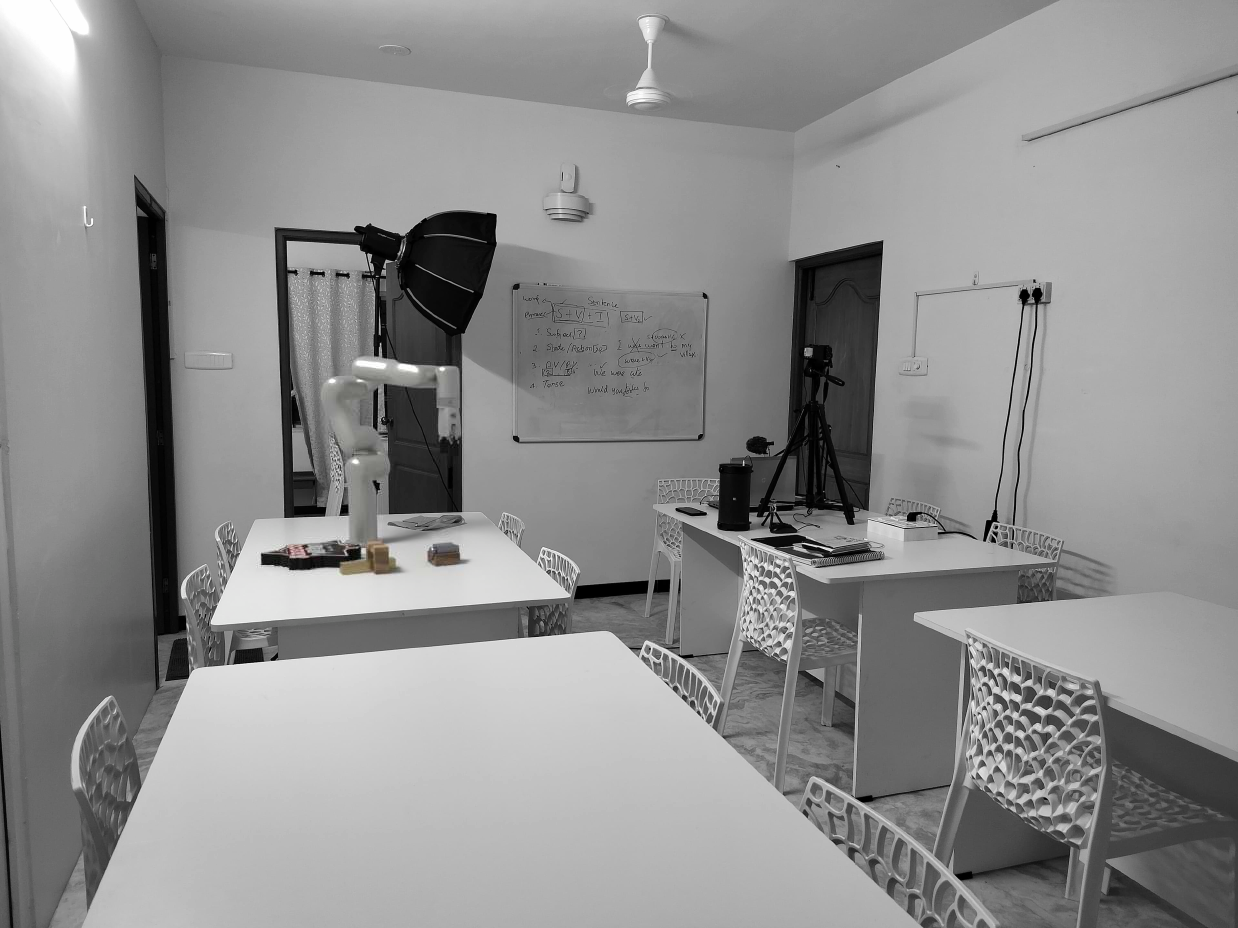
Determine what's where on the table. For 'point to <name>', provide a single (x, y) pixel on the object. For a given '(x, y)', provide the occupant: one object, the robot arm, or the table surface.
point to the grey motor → (443, 548)
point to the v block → (444, 559)
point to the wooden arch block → (378, 556)
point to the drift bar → (362, 566)
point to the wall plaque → (312, 555)
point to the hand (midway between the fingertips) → (448, 454)
